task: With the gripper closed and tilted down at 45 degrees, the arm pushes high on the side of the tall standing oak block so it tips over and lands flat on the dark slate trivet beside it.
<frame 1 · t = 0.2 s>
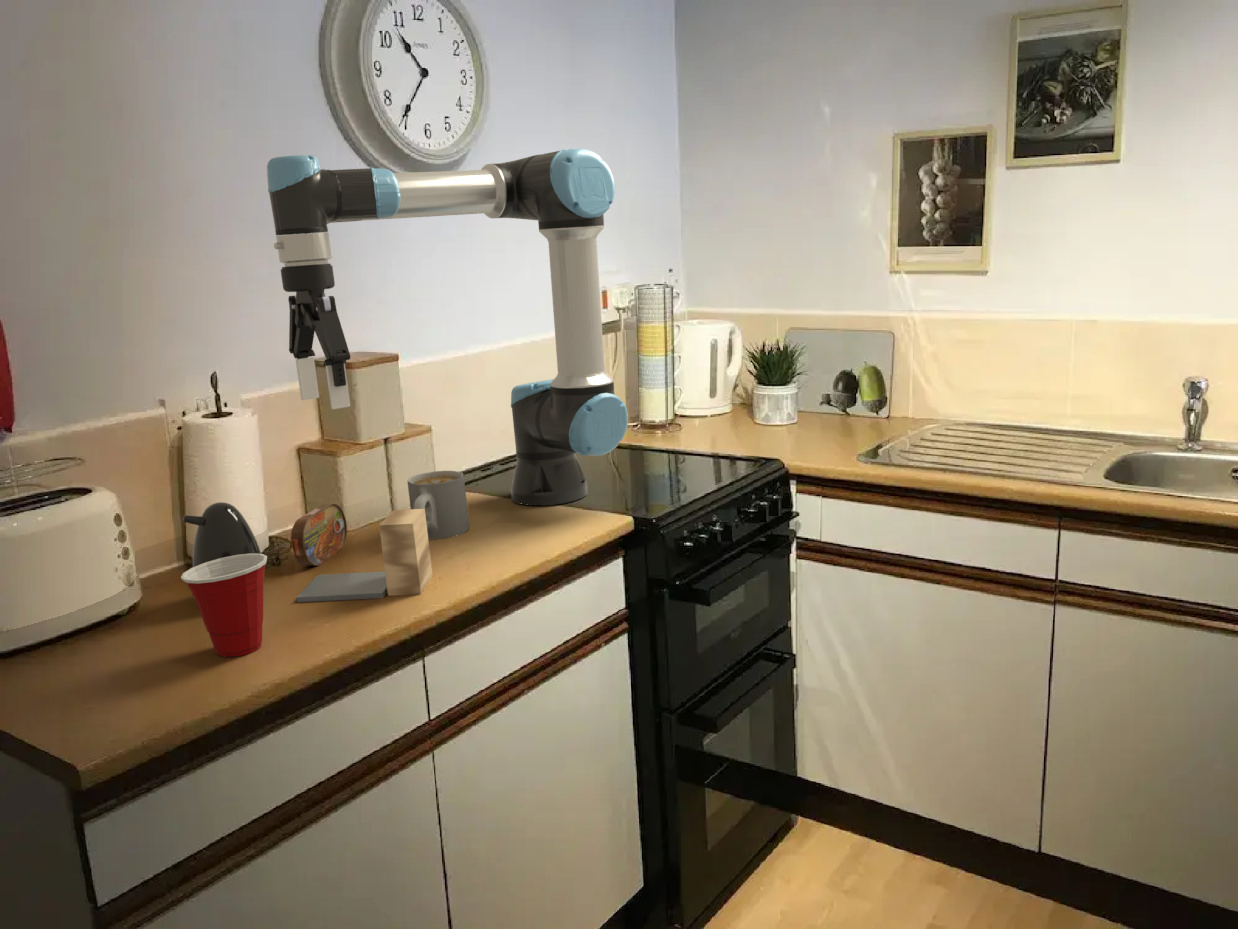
hand: (325, 403, 159), 28 cm above the counter, tool pointing down, fingers open, 13 cm apart
tin: (322, 559, 175), on the counter
pump dispenser: (233, 600, 158), on the counter
coffee mug: (436, 534, 184), on the counter
plastic cup: (238, 650, 138), on the counter
oak block: (410, 585, 158), on the counter
slate trivet: (349, 588, 158), on the counter
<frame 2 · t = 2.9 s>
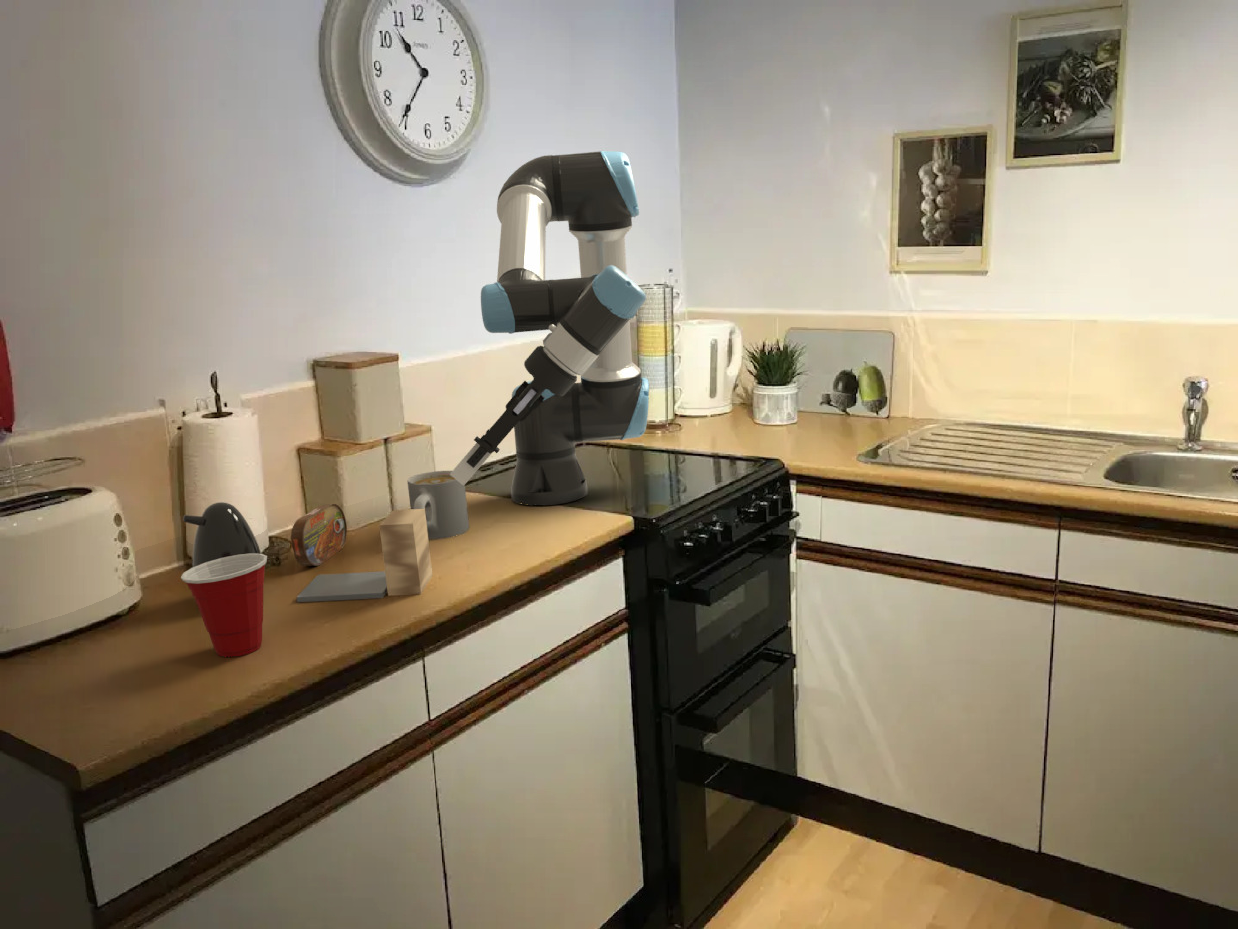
hand: (457, 478, 154), 16 cm above the counter, tool tilted 45°, fingers closed
nothing on the counter moved.
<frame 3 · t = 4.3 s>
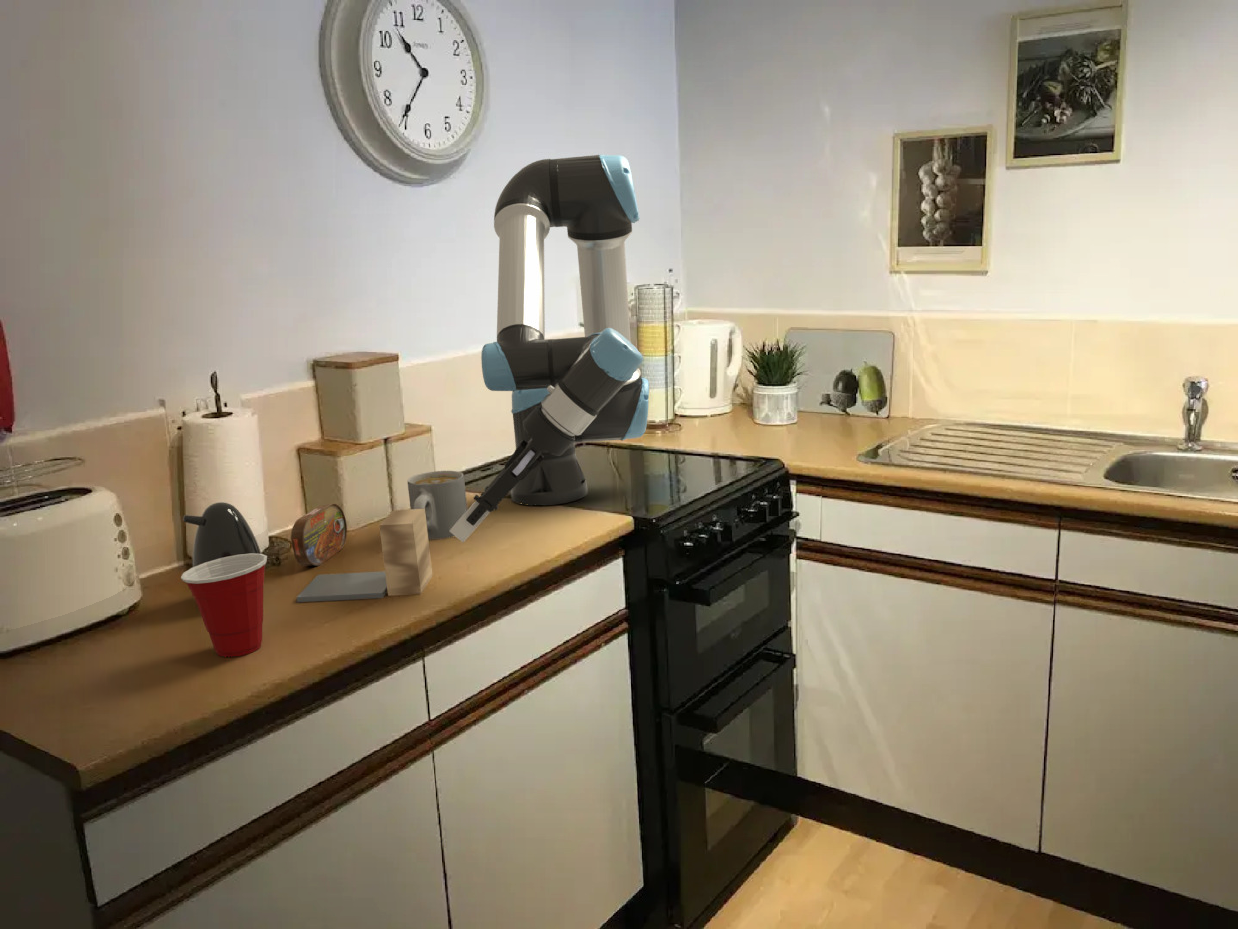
hand: (457, 535, 156), 8 cm above the counter, tool tilted 45°, fingers closed
nothing on the counter moved.
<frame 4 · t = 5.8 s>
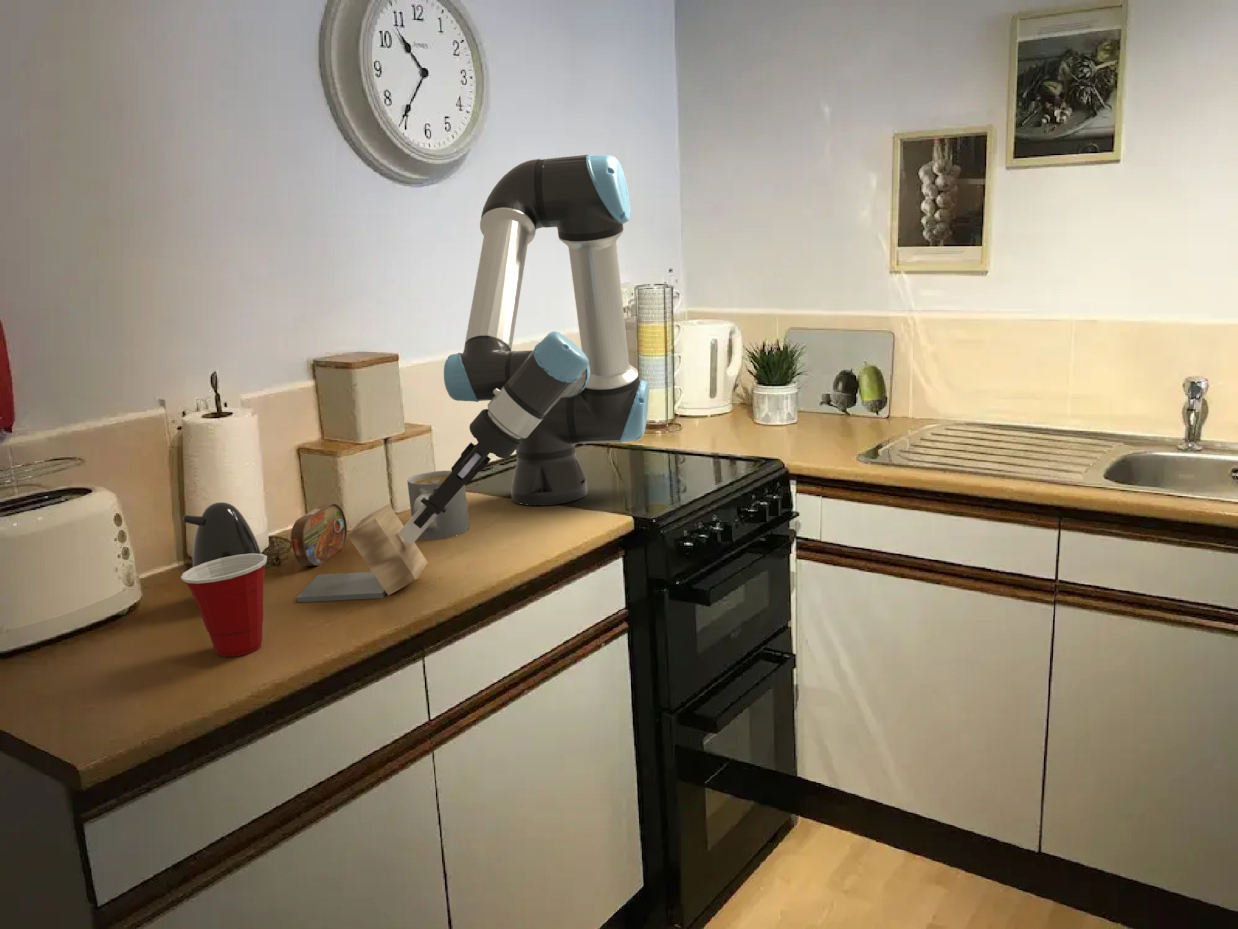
hand: (405, 538, 156), 8 cm above the counter, tool tilted 45°, fingers closed
oak block: (408, 578, 158), point 1 cm above the counter, tilted 27°
everything else where it was.
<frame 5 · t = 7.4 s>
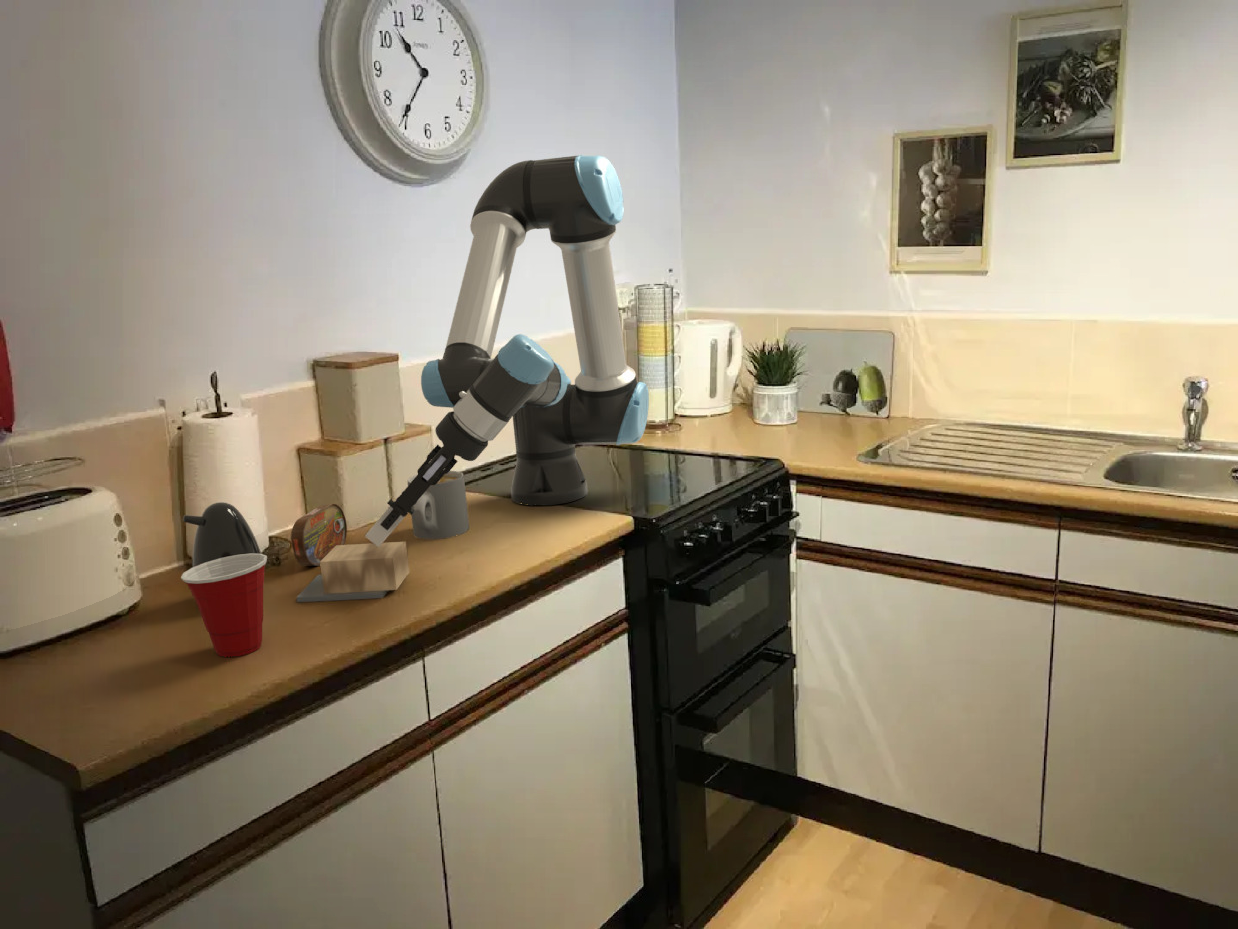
hand: (372, 540, 156), 8 cm above the counter, tool tilted 45°, fingers closed
oak block: (401, 565, 157), point 3 cm above the counter, tilted 90°, touching slate trivet
everything else where it was.
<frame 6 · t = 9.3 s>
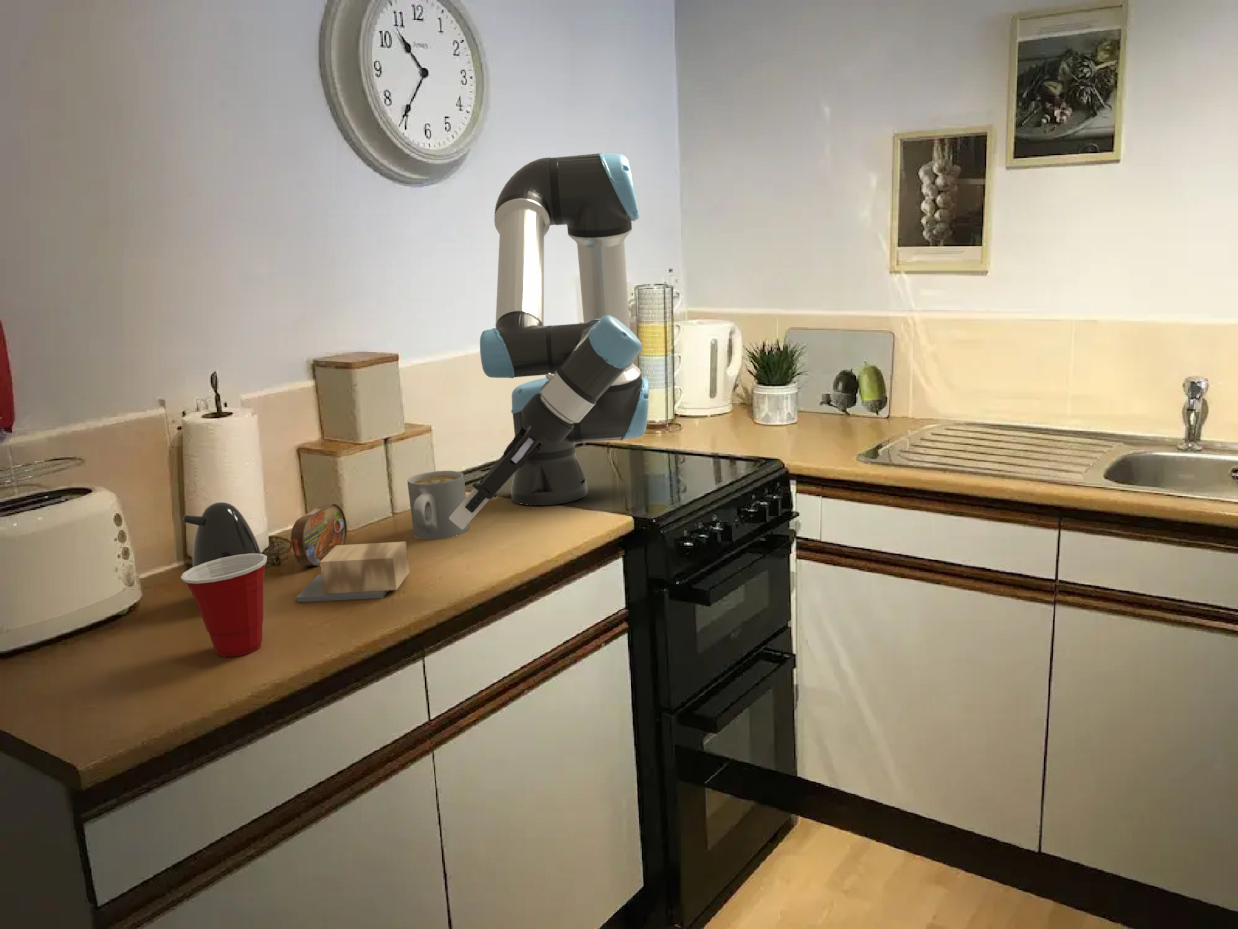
hand: (456, 522, 156), 9 cm above the counter, tool tilted 45°, fingers closed
nothing on the counter moved.
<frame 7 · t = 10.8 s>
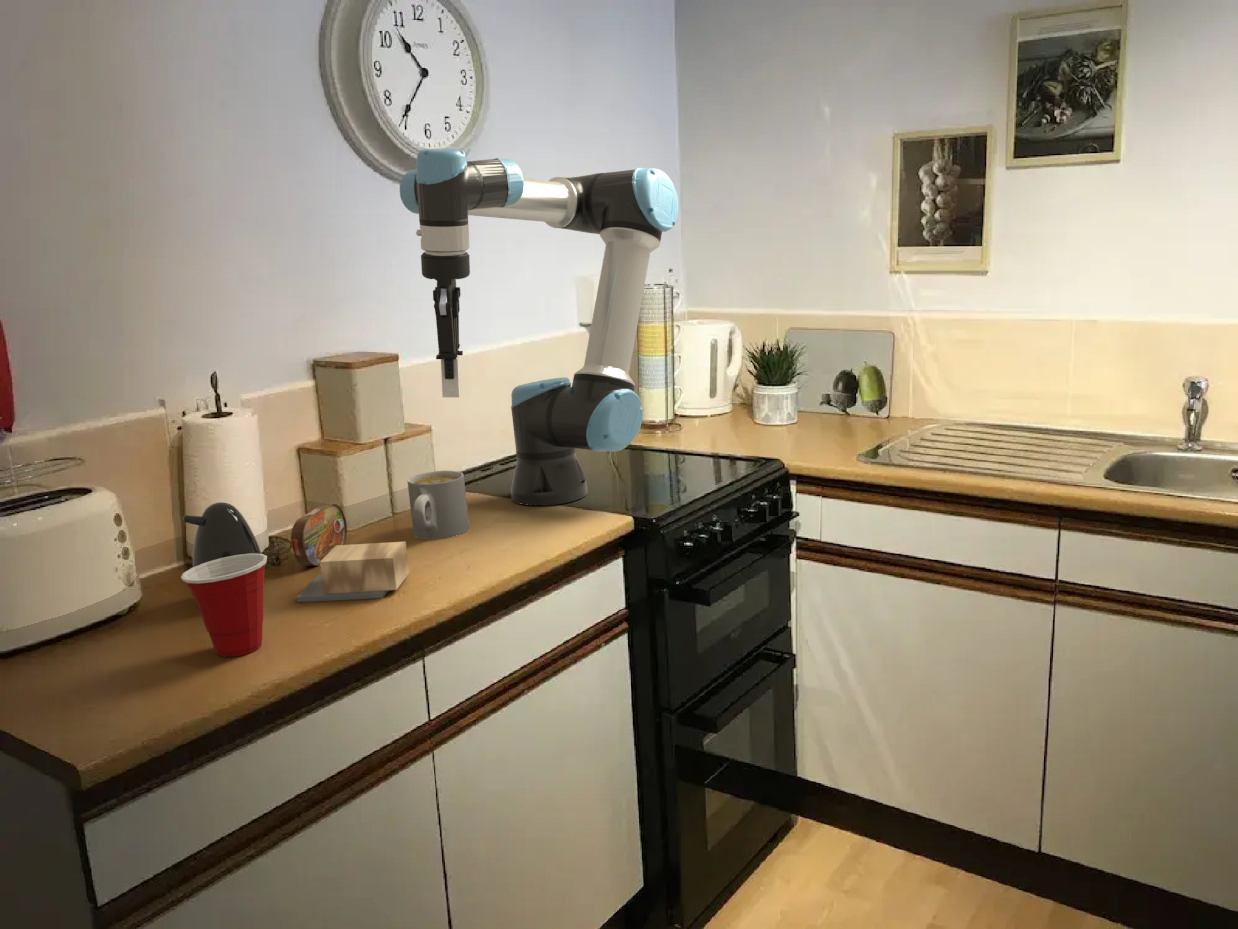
hand: (451, 395, 170), 26 cm above the counter, tool pointing down, fingers closed
nothing on the counter moved.
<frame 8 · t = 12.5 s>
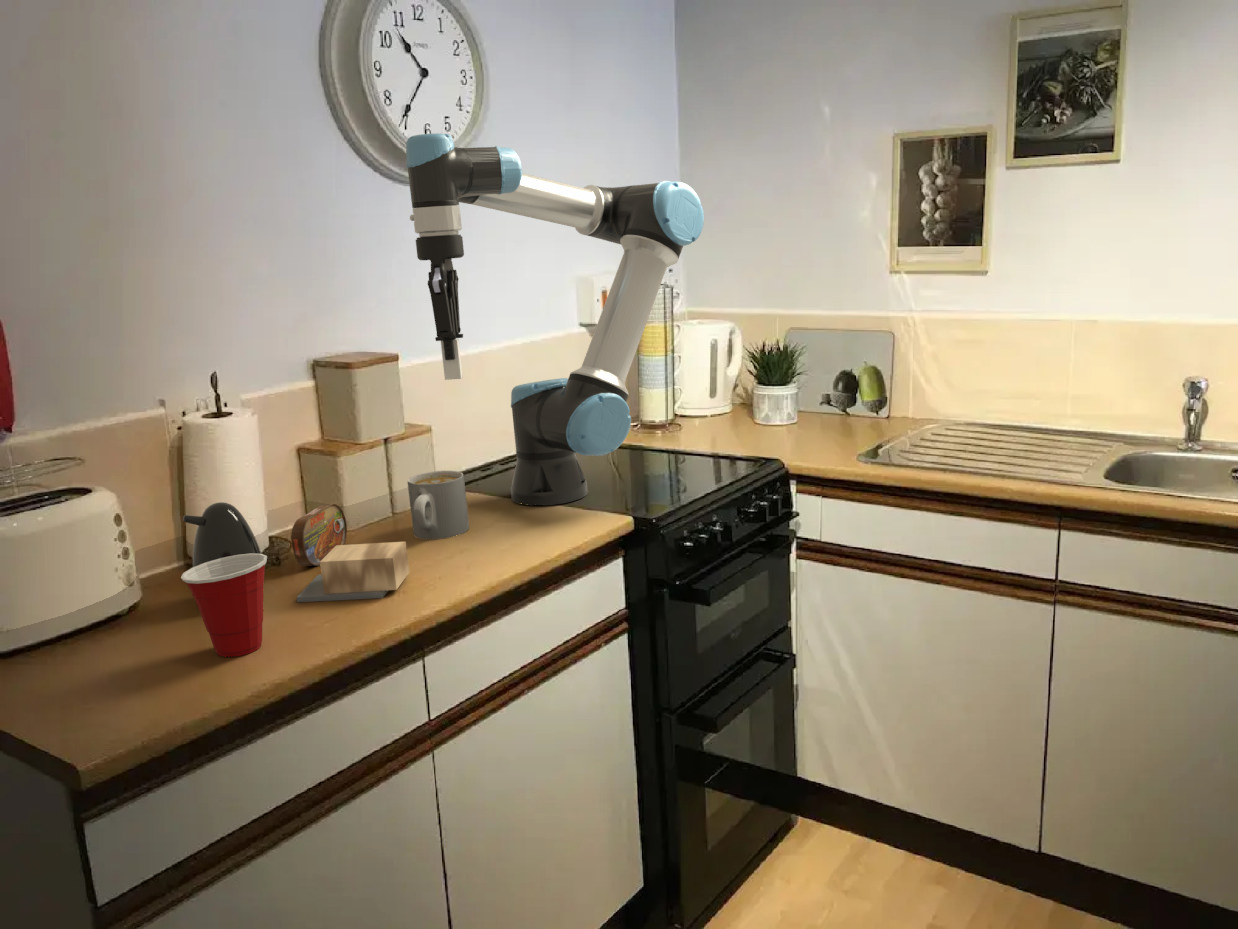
hand: (453, 378, 172), 28 cm above the counter, tool pointing down, fingers closed
nothing on the counter moved.
at the end: oak block tilted 90°; oak block inside the target area (7.9 cm from its centre), point 3.3 cm above the counter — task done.
